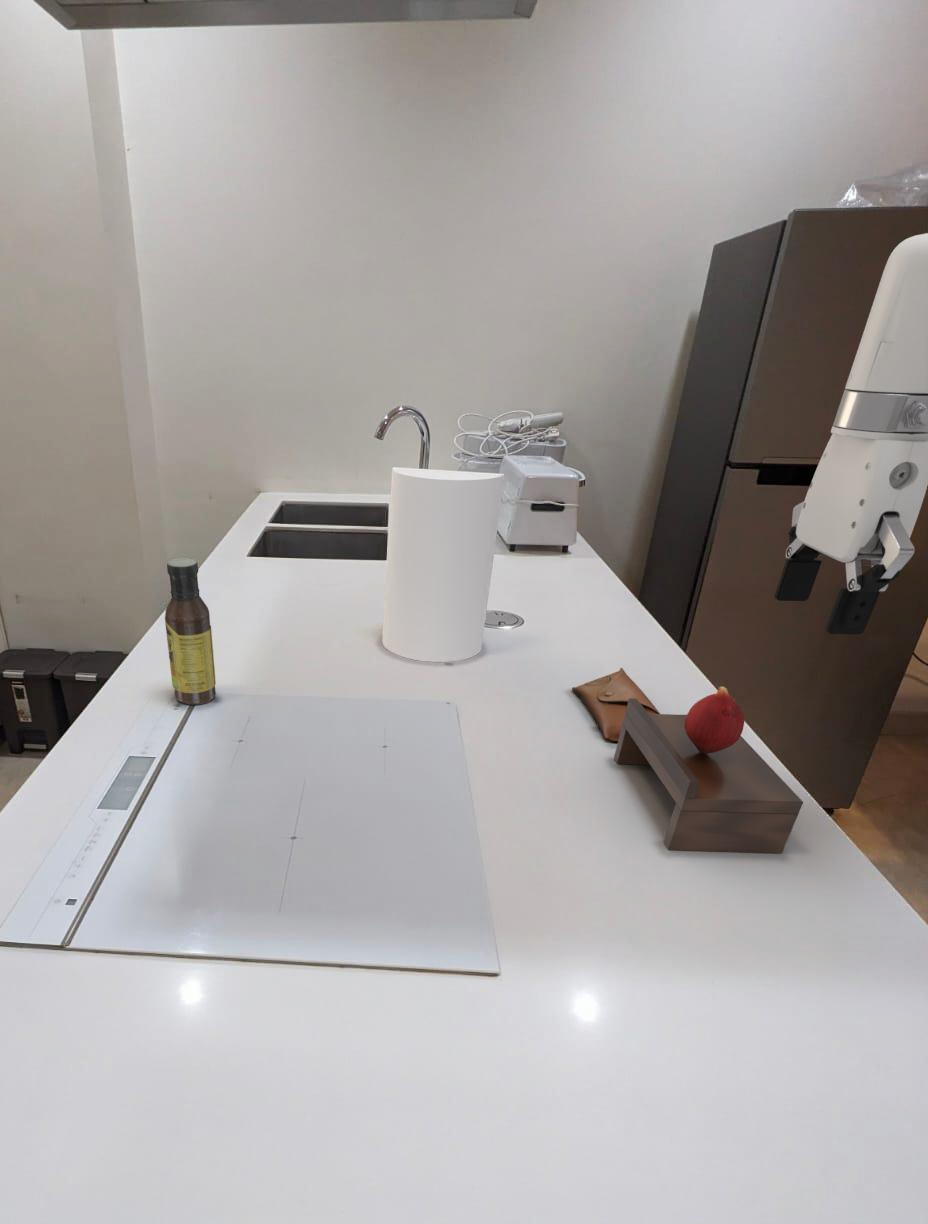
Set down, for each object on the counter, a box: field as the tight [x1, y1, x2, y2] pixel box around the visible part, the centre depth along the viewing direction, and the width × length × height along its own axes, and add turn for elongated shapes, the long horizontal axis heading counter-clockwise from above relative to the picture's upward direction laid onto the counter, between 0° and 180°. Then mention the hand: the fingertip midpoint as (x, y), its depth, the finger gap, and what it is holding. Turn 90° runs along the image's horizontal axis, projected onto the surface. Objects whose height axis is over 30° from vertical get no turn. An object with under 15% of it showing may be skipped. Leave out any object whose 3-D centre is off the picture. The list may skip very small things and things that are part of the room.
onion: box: [684, 686, 745, 754], centre depth 82 cm, size 6×6×8 cm
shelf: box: [613, 698, 804, 854], centre depth 86 cm, size 12×20×8 cm, turn 178°
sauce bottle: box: [164, 557, 217, 706], centre depth 105 cm, size 6×6×20 cm
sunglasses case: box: [571, 667, 661, 743], centre depth 107 cm, size 18×7×7 cm
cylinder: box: [381, 466, 506, 663], centre depth 123 cm, size 17×17×28 cm
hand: (815, 615), depth 72 cm, fingers open, 9 cm apart
